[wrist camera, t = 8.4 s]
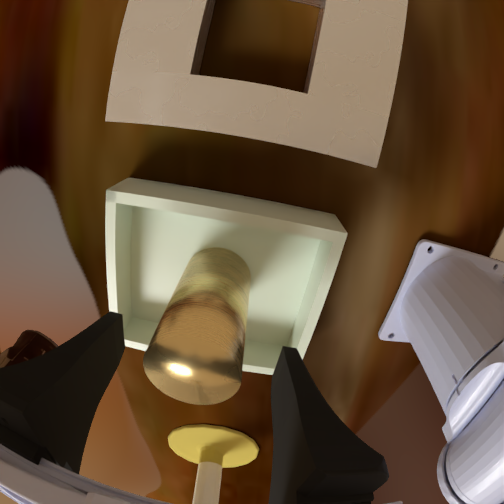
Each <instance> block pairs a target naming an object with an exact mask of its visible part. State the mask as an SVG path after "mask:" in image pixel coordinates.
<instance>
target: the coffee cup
mask: <svg viewBox="0 0 504 504" xmlns="http://www.w3.org/2000/svg"><path fill="white" fill-rule="evenodd" d="M56 347H58V345H57V344H56V343H54V342H53V341H52V340H51V339H50V338H48V337H47V336H45V335H44V334H42V333H40V332H38V331H33V330H26V331H24V332H23V333H22V334H21V335H20V337H19V338H18V340H17V342H16V343H15V344H14V346H13V347H10V348H8V349H6V350H5V351H3V352H2V353H1V354H0V368H2V367H7V366H11V365H14V364H18V363H21V362H24V361H27V360H30V359H32V358H35V357H37V356H40V355H42V354H44V353H47V352H49V351H51V350H53V349H55V348H56Z"/></svg>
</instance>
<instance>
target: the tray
mask: <svg viewBox="0 0 504 504" xmlns="http://www.w3.org/2000/svg"><path fill="white" fill-rule="evenodd" d="M347 234H348V233H347V232H346V230H345V229H344V227H343V226H342V224H341V223H340V221H339V220H338V218H337V217H336V215H335V214H331V213H326V212H322V211H317V210H312V209H308V208H303V207H298V206H293V205H288V204H284V203H279V202H273V201H268V200H263V199H258V198H253V197H247V196H242V195H237V194H231V193H225V192H220V191H214V190H208V189H202V188H196V187H190V186H184V185H177V184H171V183H164V182H158V181H151V180H144V179H137V178H127V179H125V180H123V181H122V182H120V183H118V184H116V185H114V186H112V187H111V188H109V189H107V190H106V217H105V236H106V271H107V288H108V302H109V312H110V311H112V312H115V313H119V314H122V315H123V329H124V341H125V346H128V347H131V348H135V349H139V350H143V351H146V350H147V348H148V345H149V343H150V341H151V339H152V337H153V335H154V332H155V330H156V328H157V326H158V324H159V322H160V320H161V317H162V315H163V313H164V311H165V309H166V307H167V305H168V303H169V301H170V299H171V297H172V295H173V292H174V290H175V288H176V286H177V284H178V282H179V280H180V278H181V276H182V274H183V272H184V270H185V268H186V266H187V264H188V262H189V261H190V259H191V258H192V257H193V256H194V255H195V254H196V253H197V252H199V251H201V250H203V249H206V248H212V247H219V248H225V249H228V250H231V251H233V252H235V253H236V254H238V255H239V256H240V257H241V258H242V259H243V260H244V261H245V262H246V264H247V266H248V267H249V270H250V274H251V284H250V295H249V305H248V315H247V326H246V336H245V347H244V357H243V367H242V371H248V372H255V373H262V374H270V375H273V373H274V370H275V367H276V364H277V361H278V358H279V356H280V353H281V350H282V347H283V346H286V347H293V348H297V350H298V352H299V354H300V356H301V358H302V359H303V357H304V355H305V352H306V350H307V347H308V345H309V342H310V339H311V337H312V334H313V332H314V329H315V327H316V324H317V321H318V319H319V316H320V313H321V311H322V308H323V305H324V302H325V300H326V297H327V294H328V291H329V288H330V286H331V283H332V280H333V277H334V274H335V271H336V268H337V265H338V262H339V259H340V256H341V253H342V250H343V247H344V244H345V241H346V237H347Z"/></svg>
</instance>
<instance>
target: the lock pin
mask: <svg viewBox="0 0 504 504" xmlns="http://www.w3.org/2000/svg"><path fill="white" fill-rule="evenodd" d="M250 284H251V274H250V270H249V267H248V266H247V264H246V262H245V261H244V260H243V259H242V258H241V257H240V256H239V255H238V254H236V253H235V252H233V251H231V250H228V249H225V248H219V247H212V248H206V249H203V250H201V251H199V252H197V253H196V254H195V255H194V256H193V257H192V258H191V259H190V261H189V262H188V264H187V266H186V268H185V270H184V272H183V274H182V276H181V278H180V280H179V282H178V284H177V286H176V288H175V290H174V292H173V295H172V297H171V299H170V301H169V303H168V305H167V307H166V309H165V311H164V313H163V315H162V317H161V320H160V322H159V324H158V326H157V328H156V330H155V332H154V335H153V337H152V339H151V341H150V343H149V345H148V348H147V350H146V352H145V354H144V358H143V366H144V370H145V373H146V374H147V376H148V378H149V379H150V381H151V382H152V383H153V384H154V385H155V386H156V387H157V388H158V389H159V390H161V391H162V392H163V393H165V394H167V395H168V396H170V397H172V398H174V399H177V400H180V401H183V402H186V403H191V404H199V405H208V404H215V403H219V402H222V401H225V400H227V399H229V398H230V397H232V396H233V395H234V394H235V393H236V392H237V391H238V389H239V387H240V384H241V378H242V367H243V357H244V347H245V336H246V326H247V315H248V305H249V295H250Z"/></svg>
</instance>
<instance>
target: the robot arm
mask: <svg viewBox="0 0 504 504" xmlns="http://www.w3.org/2000/svg"><path fill="white" fill-rule="evenodd" d="M430 246H432V247H431V249H430V250H429V251H428V248H429V247H430ZM494 265H495V266H494ZM503 275H504V262H503V261H500V260H497V259H493V258H490V257H487V256H483V255H480V254H476V253H473V252H470V251H466V250H463V249H459V248H455V247H452V246H448V245H445V244H441V243H437V242H434V241H430V240H426V239H422V240H420V241H419V242H418V244H417V246H416V248H415V251H414V253H413V256H412V258H411V261H410V263H409V266H408V268H407V271H406V273H405V276H404V278H403V280H402V283H401V285H400V287H399V290H398V292H397V294H396V296H395V299H394V301H393V303H392V305H391V307H390V310H389V312H388V314H387V316H386V318H385V320H384V322H383V324H382V326H381V328H380V330H379V333H378V336H379V338H380V339H381V340H387V341H398V342H411V344H412V346H413V348H414V350H415V352H416V354H417V356H418V358H419V360H420V362H421V364H422V366H423V368H424V370H425V372H426V374H427V376H428V378H429V380H430V382H431V384H432V386H433V389H434V391H435V393H436V395H437V397H438V399H439V401H440V404H441V406H442V408H443V410H444V413H445V415H446V417H447V421H446V423H445V425H444V426H443V427H442V430H443V432H444V435H445V437H446V440H447V444H446V445H445V446H444V448H443V449H442V451H441V454H440V456H439V460H438V465H437V475H438V482H439V486H440V488H441V491H442V493H443V495H444V496H445V498H446V499H447V501H448V502H449V503H450V504H504V277H503ZM391 333H392V334H391ZM389 334H391V335H389ZM124 349H125V341H124V329H123V315H122V314H119V313H115V312H112V311H110V312H109V313H107V314H106V315H104V316H103V317H101V318H100V319H99V320H97V321H96V322H95V323H93V324H92V325H91V326H89V327H88V328H87V329H85V330H83V331H82V332H80V333H79V334H78V335H76V336H75V337H73V338H71V339H70V340H68V341H67V342H65V343H63V344H62V345H60V346H58V347H56V348H55V349H53V350H51V351H49V352H47V353H44V354H42V355H40V356H37V357H35V358H32V359H30V360H27V361H24V362H21V363H18V364H14V365H11V366H7V367H2V368H0V491H1V492H2V493H4V494H5V495H6V496H8V497H10V498H11V499H13V500H14V501H16V502H17V503H19V504H172V503H167V502H163V501H159V500H155V499H151V498H147V497H143V496H140V495H136V494H133V493H129V492H126V491H123V490H120V489H117V488H114V487H110V486H108V485H104V484H102V483H99V482H97V481H94V480H91V479H88V478H86V477H84V476H81V475H79V471H80V465H81V461H82V455H83V452H84V448H85V444H86V440H87V437H88V433H89V430H90V427H91V423H92V420H93V418H94V415H95V412H96V409H97V406H98V404H99V402H100V400H101V398H102V396H103V394H104V392H105V390H106V388H107V386H108V385H109V383H110V380H111V379H112V377H113V375H114V373H115V371H116V369H117V367H118V365H119V363H120V360H121V357H122V355H123V352H124ZM271 407H272V422H273V437H274V448H273V465H272V478H271V488H270V498H269V504H371V501H373V499H374V496H373V492H374V491H375V490H377V489H378V488H379V487H380V486H382V485H383V484H384V483H385V482H386V481H387V480H388V478H389V474H388V469H387V465H386V462H385V459H384V457H383V456H382V455H381V454H379V453H378V452H376V451H375V450H373V449H372V448H371V447H369V446H368V445H367V444H366V443H364V442H363V441H362V440H361V439H360V438H358V437H357V436H356V435H355V434H354V433H353V432H352V431H351V430H350V429H349V428H348V427H347V426H346V425H345V424H344V423H343V422H342V421H341V420H340V419H339V417H338V416H337V415H336V414H335V413H334V411H333V410H332V409H331V407H330V406H329V405H328V403H327V402H326V401H325V399H324V398H323V396H322V394H321V393H320V391H319V390H318V388H317V387H316V385H315V383H314V381H313V380H312V378H311V376H310V374H309V372H308V370H307V368H306V366H305V364H304V362H303V360H302V358H301V356H300V354H299V352H298V350H297V348H293V347H286V346H283V347H282V350H281V353H280V356H279V358H278V361H277V364H276V367H275V370H274V373H273V376H272V386H271ZM386 504H403V503H402V501H398V502H392V503H386Z"/></svg>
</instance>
